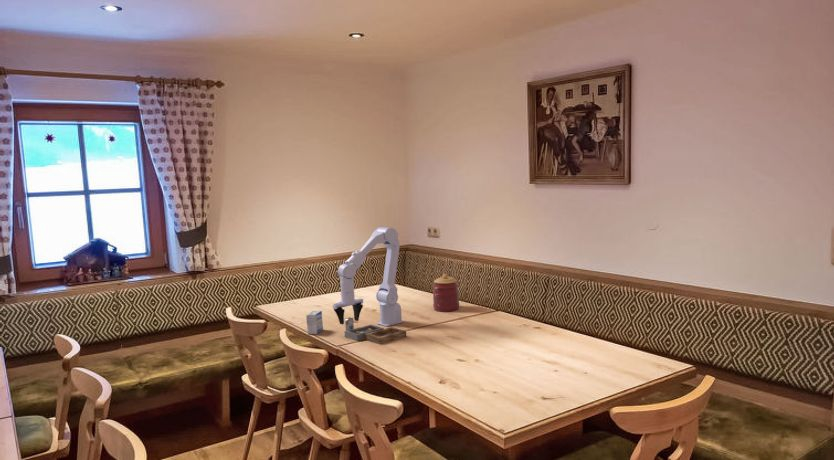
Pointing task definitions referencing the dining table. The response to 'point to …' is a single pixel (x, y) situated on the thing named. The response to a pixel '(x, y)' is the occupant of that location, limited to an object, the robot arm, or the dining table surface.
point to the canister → (445, 294)
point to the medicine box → (314, 322)
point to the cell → (349, 323)
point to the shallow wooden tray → (385, 335)
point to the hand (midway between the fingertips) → (349, 322)
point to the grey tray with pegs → (361, 332)
